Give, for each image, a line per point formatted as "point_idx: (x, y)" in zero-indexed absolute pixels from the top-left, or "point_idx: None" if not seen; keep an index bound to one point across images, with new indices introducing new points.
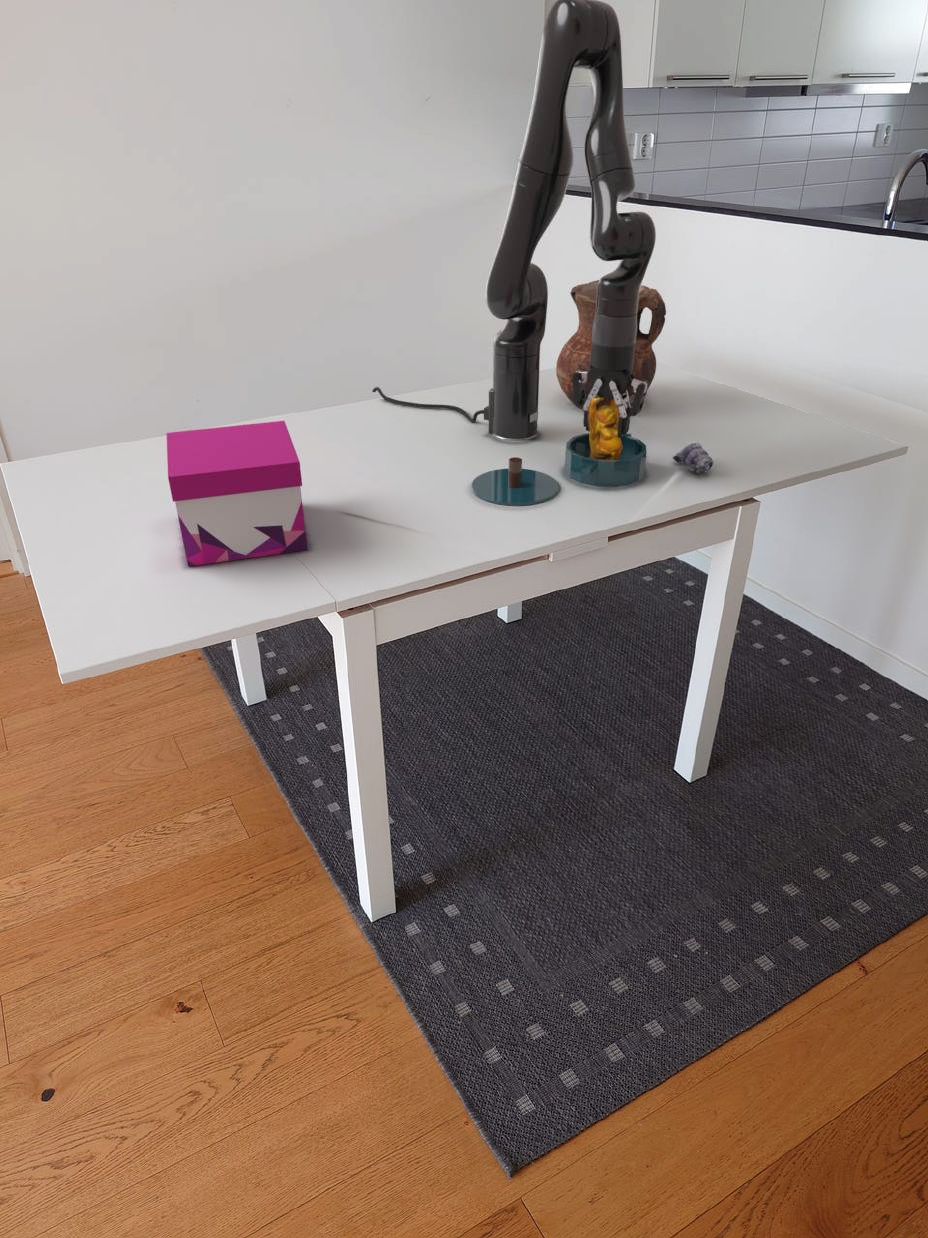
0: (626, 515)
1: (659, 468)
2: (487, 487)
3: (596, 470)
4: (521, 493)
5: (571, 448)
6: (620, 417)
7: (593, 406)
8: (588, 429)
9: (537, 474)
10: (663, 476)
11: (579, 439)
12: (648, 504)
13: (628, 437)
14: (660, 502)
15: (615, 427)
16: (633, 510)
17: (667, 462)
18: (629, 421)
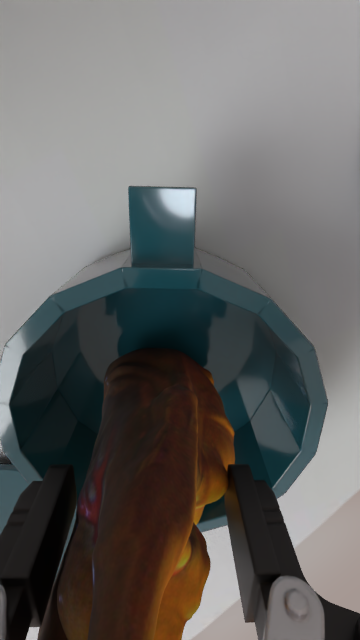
0: (293, 529)
1: (320, 243)
2: None
3: None
4: (58, 569)
5: (31, 423)
6: (251, 619)
7: None
8: (72, 512)
9: (22, 485)
10: (343, 303)
11: (19, 383)
12: (329, 473)
13: (212, 295)
14: (356, 454)
15: (199, 498)
16: (302, 507)
17: (341, 168)
18: (290, 546)
